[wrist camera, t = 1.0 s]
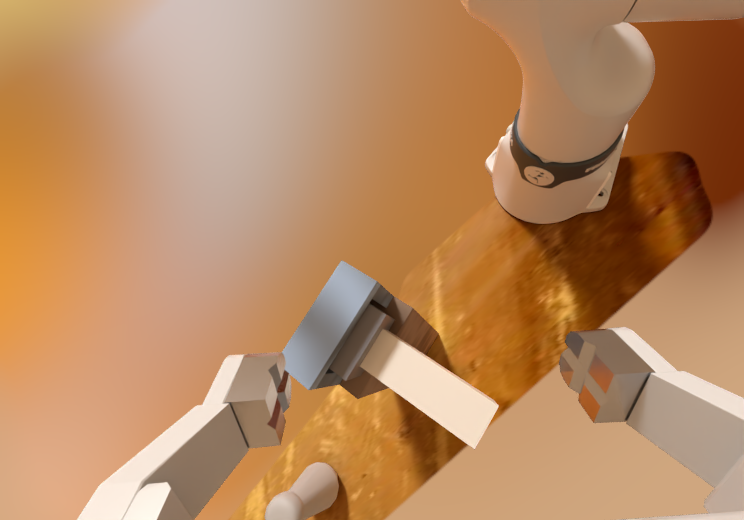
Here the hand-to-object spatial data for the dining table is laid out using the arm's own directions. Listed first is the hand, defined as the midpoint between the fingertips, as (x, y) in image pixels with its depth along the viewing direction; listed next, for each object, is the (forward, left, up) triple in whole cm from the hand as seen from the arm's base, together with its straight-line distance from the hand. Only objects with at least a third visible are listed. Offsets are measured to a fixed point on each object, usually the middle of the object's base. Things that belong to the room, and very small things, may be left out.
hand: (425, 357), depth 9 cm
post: (+2, -7, -41) cm, 42 cm away
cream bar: (+2, -2, -15) cm, 16 cm away
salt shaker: (+25, -7, -41) cm, 49 cm away
